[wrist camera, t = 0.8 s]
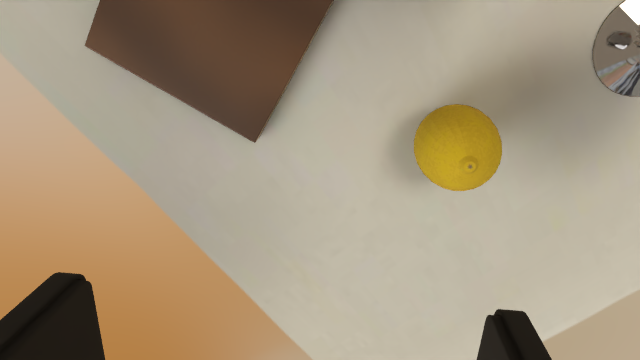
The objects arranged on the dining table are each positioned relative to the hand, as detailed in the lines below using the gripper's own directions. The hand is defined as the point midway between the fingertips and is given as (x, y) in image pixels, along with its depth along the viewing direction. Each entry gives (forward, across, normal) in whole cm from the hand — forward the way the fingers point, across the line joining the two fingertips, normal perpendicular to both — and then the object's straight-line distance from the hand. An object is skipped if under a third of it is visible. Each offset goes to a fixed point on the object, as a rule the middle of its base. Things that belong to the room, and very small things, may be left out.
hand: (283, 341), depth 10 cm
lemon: (+25, -8, +1) cm, 26 cm away
